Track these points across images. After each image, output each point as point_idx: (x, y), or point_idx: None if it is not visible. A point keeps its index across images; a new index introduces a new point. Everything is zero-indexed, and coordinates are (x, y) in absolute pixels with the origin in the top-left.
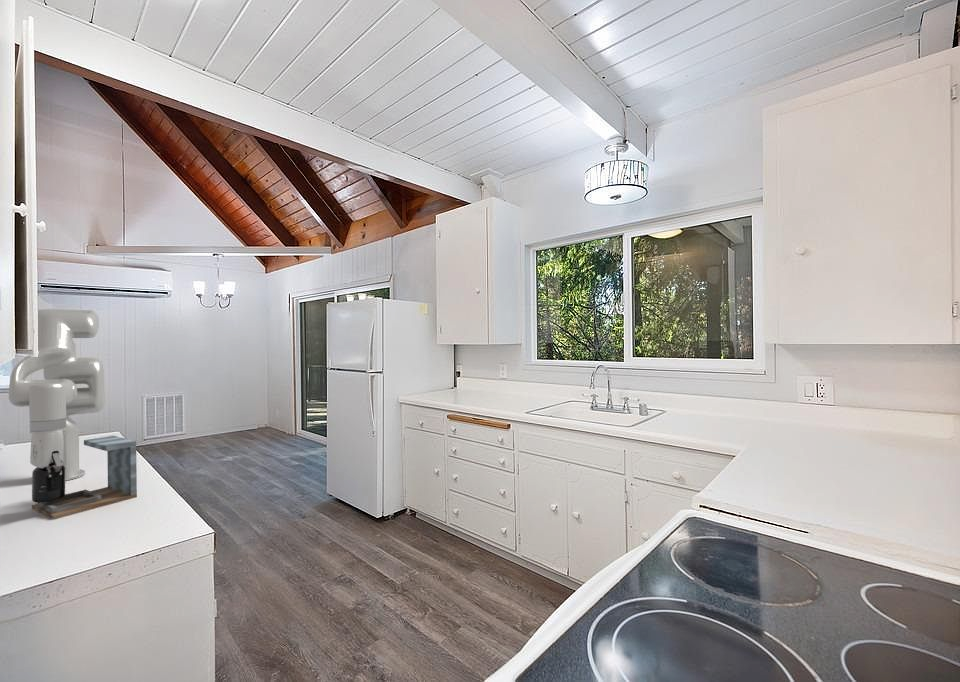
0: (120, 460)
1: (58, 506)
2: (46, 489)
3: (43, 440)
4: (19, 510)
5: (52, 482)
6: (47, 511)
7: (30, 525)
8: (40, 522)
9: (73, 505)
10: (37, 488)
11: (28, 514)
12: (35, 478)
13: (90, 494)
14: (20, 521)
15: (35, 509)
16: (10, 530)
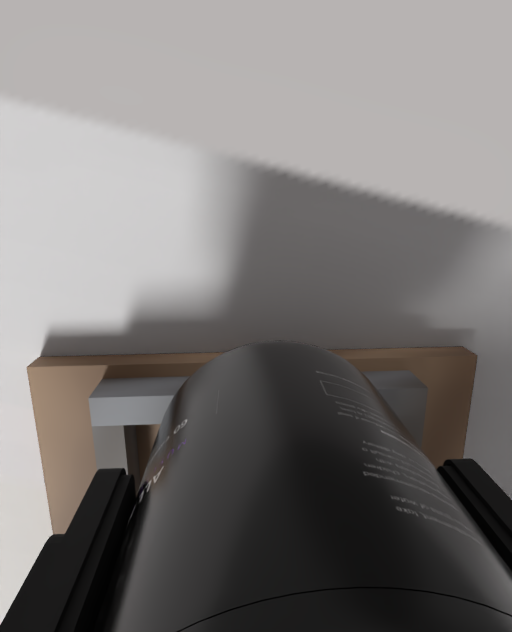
0: None
1: (94, 435)
2: (98, 482)
3: None
4: (504, 288)
5: (14, 610)
6: (191, 373)
7: (31, 233)
8: (47, 291)
9: None
10: (197, 430)
11: (337, 296)
12: (230, 531)
13: None
14: (206, 220)
15: (397, 350)
16: (24, 116)
